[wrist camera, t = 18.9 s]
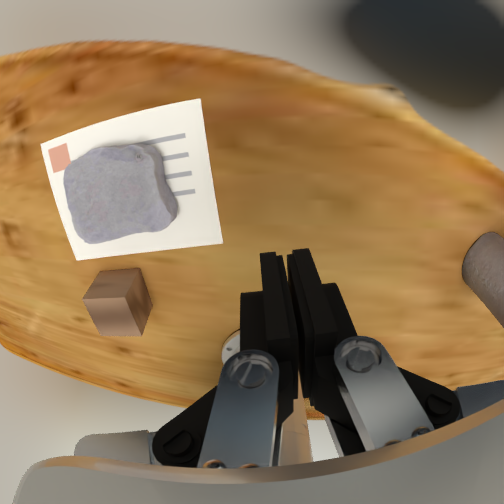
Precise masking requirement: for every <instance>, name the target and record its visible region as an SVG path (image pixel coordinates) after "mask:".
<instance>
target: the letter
mask: <svg viewBox="0 0 504 504" xmlns="http://www.w3.org/2000/svg"><path fill="white" fill-rule="evenodd" d="M134 143H136V144H144V145H148V146H151V147H154V148H155V149H156V150H157V151H158V152H159V153H160V154H161V156H162V161H163V165H164V173H165V179H166V182H167V184H168V186H169V187H170V189H171V191H172V194H173V197H174V199H175V201H176V204H177V217H176V218H175V220H174V221H172V222H171V223H170V225H169V226H168V227H167V228H165V229H163V230H162V231H158V232H143V233H135V234H131V235H127V236H124V237H121V238H118V239H115V240H111V241H106V242H103V243H98V244H88V243H85V242H84V240H83V239H81V238H80V237H79V236H78V235H77V233H76V231H75V229H74V226H73V223H72V217H71V213H70V211H69V209H68V204H67V199H66V194H65V189H64V185H63V177H64V171H65V168H66V167H67V166H68V164H71V163H72V162H74V161H76V160H77V159H78V158H79V157H81V156H83V155H84V154H86V153H87V152H88V151H90V150H91V149H94V148H99V147H109V146H113V145H117V146H120V145H129V144H134ZM41 148H42V152H43V157H44V161H45V165H46V169H47V173H48V177H49V180H50V184H51V187H52V191H53V194H54V197H55V201H56V204H57V207H58V210H59V213H60V216H61V219H62V222H63V225H64V228H65V231H66V233H67V236H68V239H69V242H70V244H71V247H72V249H73V252H74V254H75V257H76V259H77V260H85V259H93V258H101V257H109V256H117V255H126V254H134V253H143V252H151V251H160V250H169V249H177V248H186V247H195V246H204V245H213V244H222V243H223V239H222V233H221V227H220V221H219V215H218V209H217V203H216V197H215V191H214V185H213V179H212V173H211V166H210V160H209V153H208V147H207V140H206V133H205V127H204V120H203V113H202V106H201V99H194V100H189V101H183V102H178V103H173V104H169V105H164V106H159V107H155V108H151V109H147V110H143V111H139V112H135V113H131V114H127V115H124V116H120V117H117V118H113V119H110V120H107V121H103V122H100V123H97V124H94V125H91V126H88V127H85V128H82V129H79V130H76V131H73V132H71V133H68V134H65V135H63V136H60V137H57V138H55V139H52V140H50V141H47V142H45V143H43V144H41Z"/></svg>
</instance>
